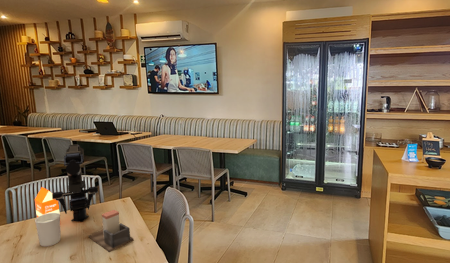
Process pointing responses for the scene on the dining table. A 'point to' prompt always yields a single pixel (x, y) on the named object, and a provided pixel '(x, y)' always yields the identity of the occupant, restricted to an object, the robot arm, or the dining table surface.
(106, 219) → the switch lever
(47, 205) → the orange juice
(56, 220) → the white cup
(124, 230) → the switch base
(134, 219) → the dining table surface
